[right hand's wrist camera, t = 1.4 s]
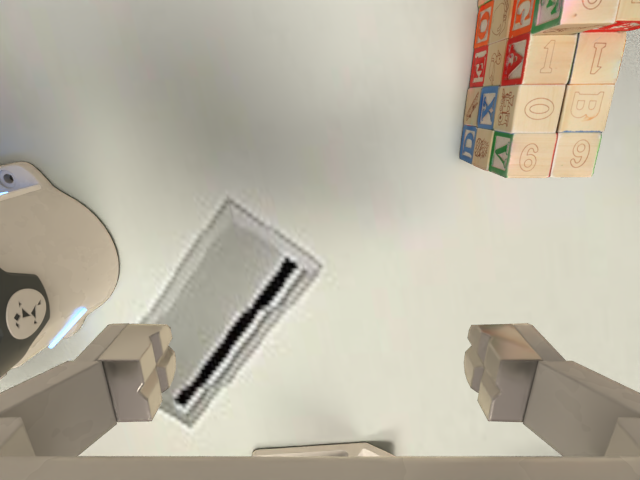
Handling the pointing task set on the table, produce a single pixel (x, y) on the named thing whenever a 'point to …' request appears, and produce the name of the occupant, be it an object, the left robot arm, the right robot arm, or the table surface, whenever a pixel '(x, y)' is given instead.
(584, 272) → the table surface
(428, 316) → the table surface
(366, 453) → the tablet stand
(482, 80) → the stack of blocks
